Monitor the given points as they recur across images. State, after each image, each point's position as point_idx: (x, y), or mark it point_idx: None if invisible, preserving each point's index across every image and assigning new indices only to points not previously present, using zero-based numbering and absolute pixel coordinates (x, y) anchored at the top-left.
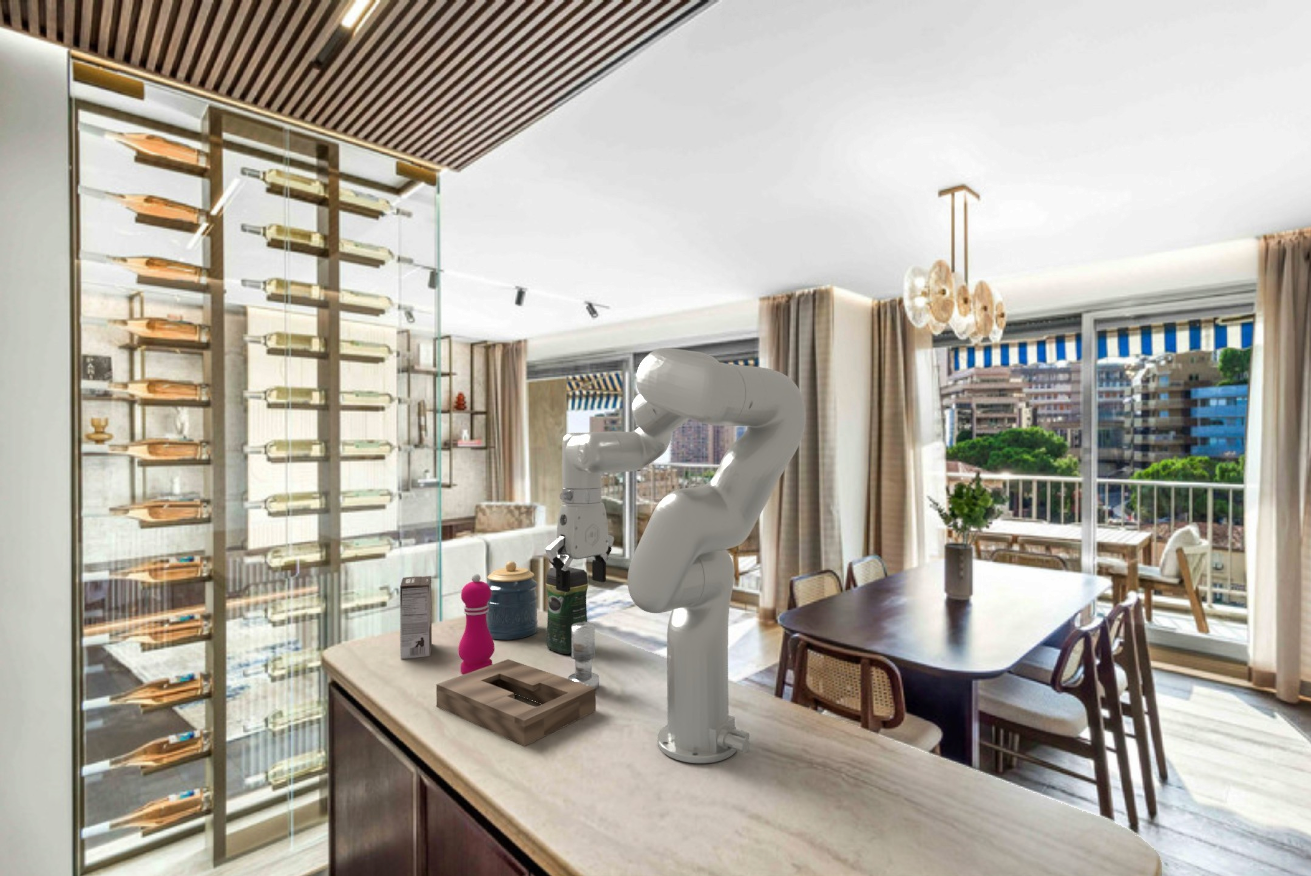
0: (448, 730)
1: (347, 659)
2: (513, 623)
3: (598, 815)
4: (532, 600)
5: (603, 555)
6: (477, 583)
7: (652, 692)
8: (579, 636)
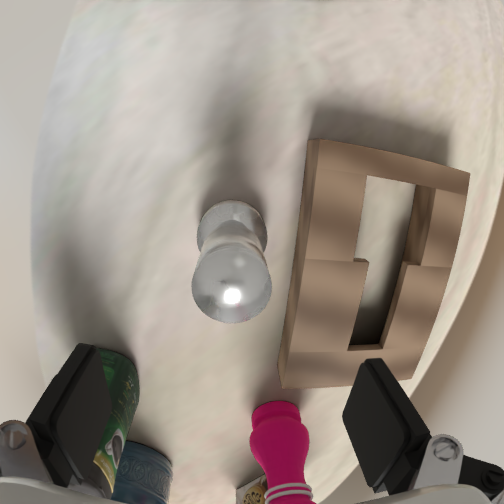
0: (446, 290)
1: (319, 495)
2: (147, 466)
3: (480, 22)
4: None
5: (28, 466)
6: None
7: (171, 98)
8: (266, 264)
